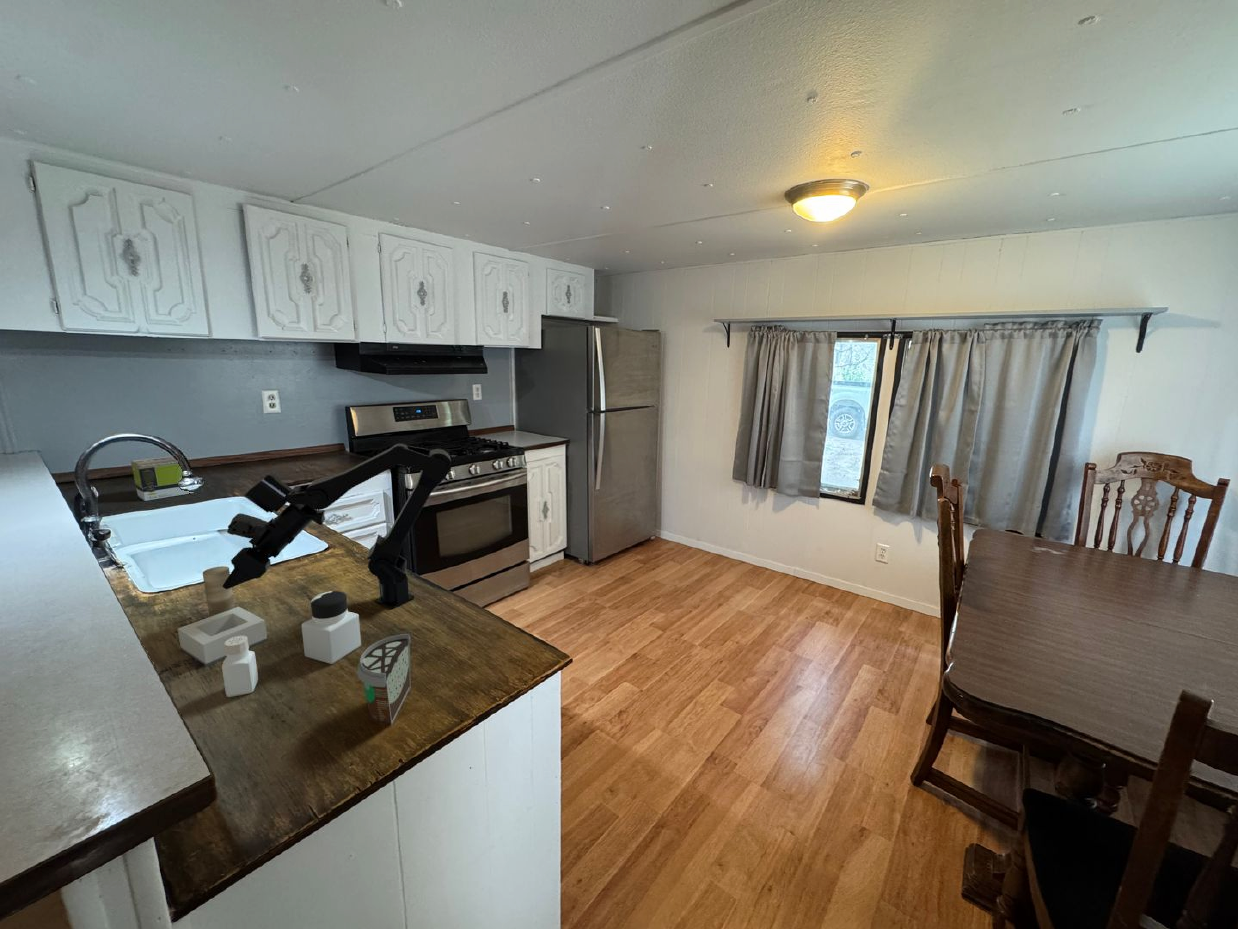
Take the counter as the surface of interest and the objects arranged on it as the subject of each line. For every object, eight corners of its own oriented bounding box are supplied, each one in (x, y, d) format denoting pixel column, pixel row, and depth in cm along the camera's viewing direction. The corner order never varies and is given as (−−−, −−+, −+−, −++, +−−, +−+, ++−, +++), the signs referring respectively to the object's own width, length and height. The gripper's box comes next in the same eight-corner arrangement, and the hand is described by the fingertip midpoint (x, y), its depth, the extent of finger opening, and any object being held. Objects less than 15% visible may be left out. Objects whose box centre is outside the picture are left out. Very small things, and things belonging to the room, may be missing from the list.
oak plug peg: (240, 620, 109) (233, 569, 106) (216, 629, 105) (208, 576, 102) (230, 615, 111) (222, 564, 108) (206, 623, 107) (198, 571, 104)
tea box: (186, 489, 205) (180, 454, 202) (194, 493, 199) (188, 457, 196) (136, 496, 193) (130, 459, 190) (143, 501, 187) (137, 463, 184)
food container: (378, 682, 90) (374, 632, 88) (413, 681, 90) (410, 632, 88) (347, 733, 78) (342, 676, 76) (388, 731, 78) (384, 675, 76)
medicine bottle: (362, 645, 101) (357, 591, 99) (331, 665, 94) (326, 607, 92) (335, 638, 103) (330, 584, 101) (304, 657, 97) (297, 600, 94)
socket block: (267, 640, 102) (264, 620, 101) (206, 666, 93) (203, 644, 92) (241, 625, 107) (238, 606, 106) (181, 649, 98) (177, 628, 97)
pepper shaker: (225, 699, 84) (217, 649, 82) (232, 685, 88) (225, 636, 86) (253, 693, 86) (246, 644, 84) (259, 680, 90) (253, 632, 88)
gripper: (266, 490, 114) (213, 540, 112) (238, 515, 97) (175, 574, 95) (309, 521, 118) (259, 569, 116) (289, 549, 101) (230, 606, 99)
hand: (232, 578), depth 107 cm, fingers open, 9 cm apart
